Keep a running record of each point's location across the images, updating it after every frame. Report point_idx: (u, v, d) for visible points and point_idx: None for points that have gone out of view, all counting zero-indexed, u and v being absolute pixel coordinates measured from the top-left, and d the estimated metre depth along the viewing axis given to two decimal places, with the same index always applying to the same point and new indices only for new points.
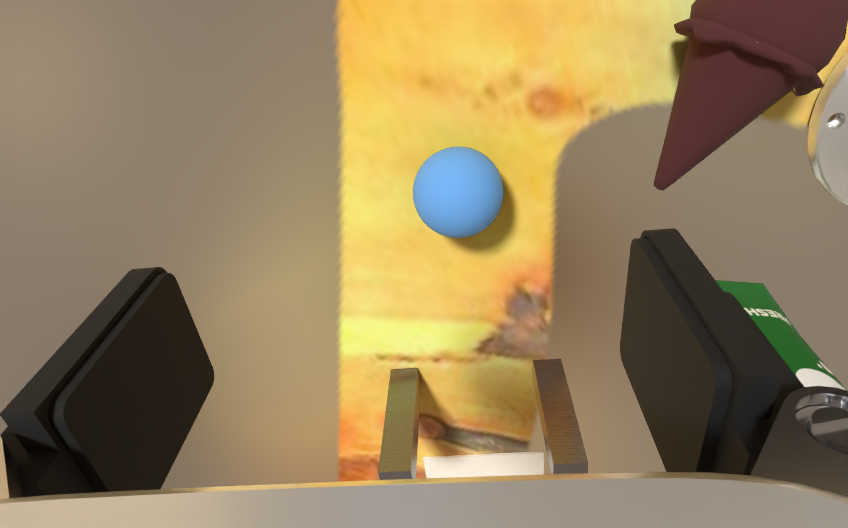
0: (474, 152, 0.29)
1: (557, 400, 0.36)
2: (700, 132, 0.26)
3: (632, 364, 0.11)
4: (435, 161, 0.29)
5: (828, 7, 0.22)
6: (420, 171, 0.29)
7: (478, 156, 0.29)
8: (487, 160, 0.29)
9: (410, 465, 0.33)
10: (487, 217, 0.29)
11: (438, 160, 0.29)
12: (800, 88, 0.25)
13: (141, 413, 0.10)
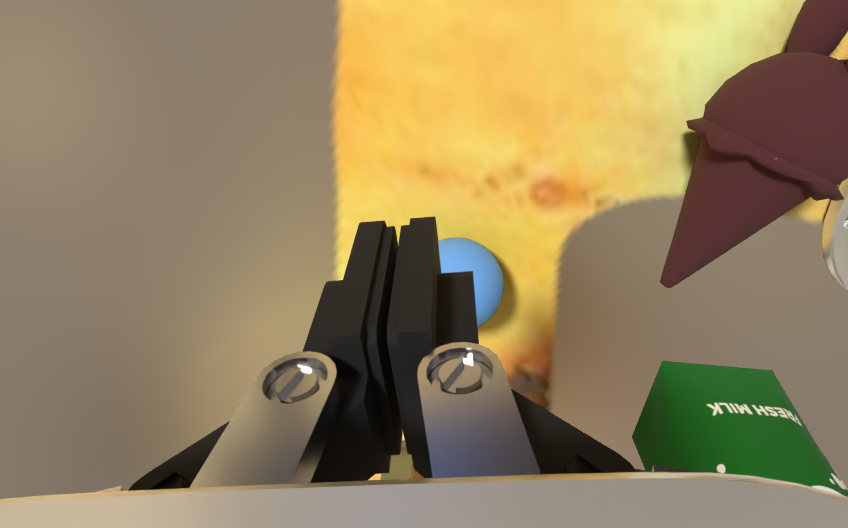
0: (474, 246, 0.28)
1: None
2: (711, 236, 0.24)
3: None
4: None
5: None
6: None
7: (478, 251, 0.28)
8: (487, 255, 0.28)
9: None
10: (485, 315, 0.28)
11: None
12: (818, 195, 0.24)
13: None
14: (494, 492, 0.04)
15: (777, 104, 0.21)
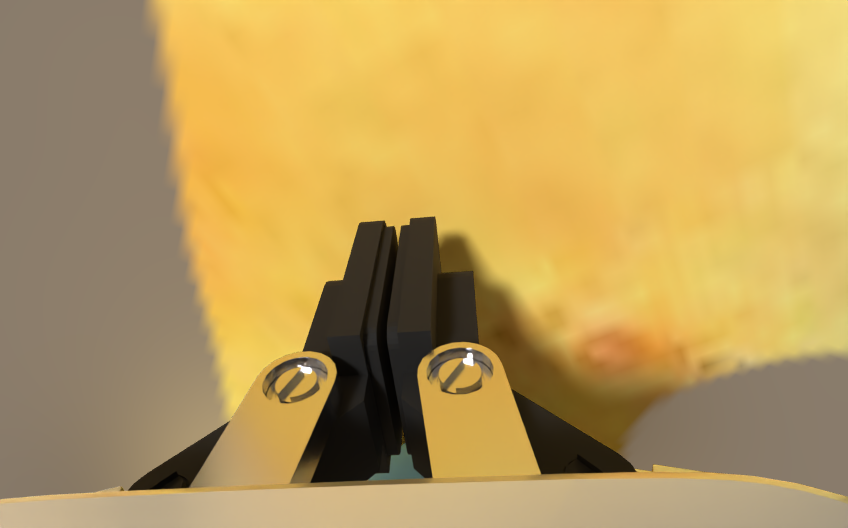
0: None
1: None
2: None
3: None
4: None
5: None
6: None
7: None
8: None
9: None
10: None
11: None
12: None
13: None
14: (494, 492, 0.04)
15: None
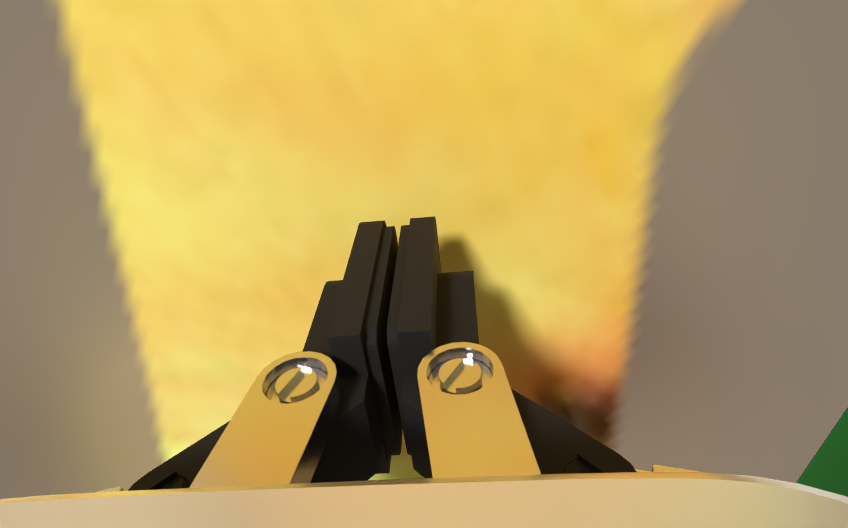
0: None
1: None
2: None
3: None
4: None
5: None
6: None
7: None
8: None
9: None
10: None
11: None
12: None
13: None
14: (494, 492, 0.04)
15: None
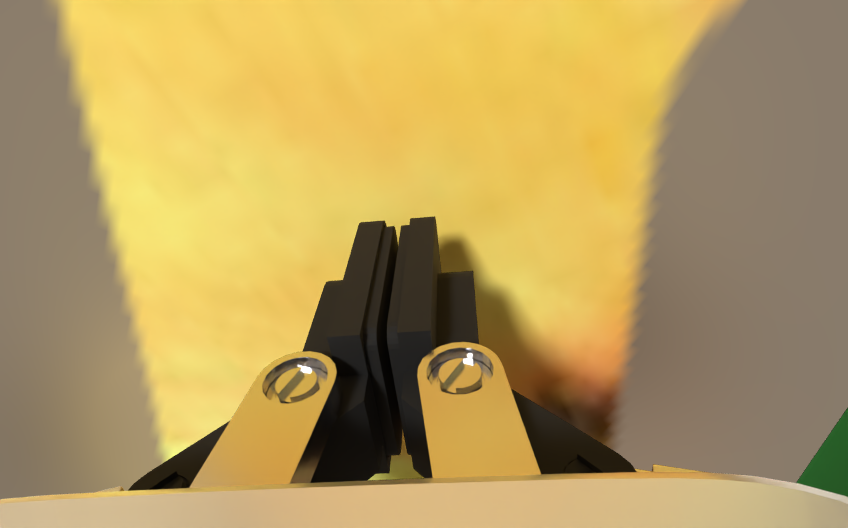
0: None
1: None
2: None
3: None
4: None
5: None
6: None
7: None
8: None
9: None
10: None
11: None
12: None
13: None
14: (494, 492, 0.04)
15: None
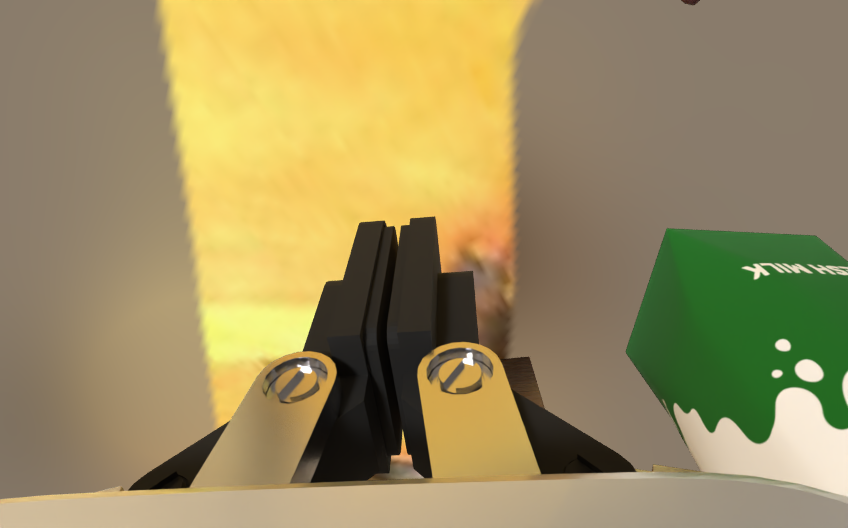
0: None
1: None
2: None
3: None
4: None
5: None
6: None
7: None
8: None
9: None
10: None
11: None
12: None
13: None
14: (494, 492, 0.04)
15: None
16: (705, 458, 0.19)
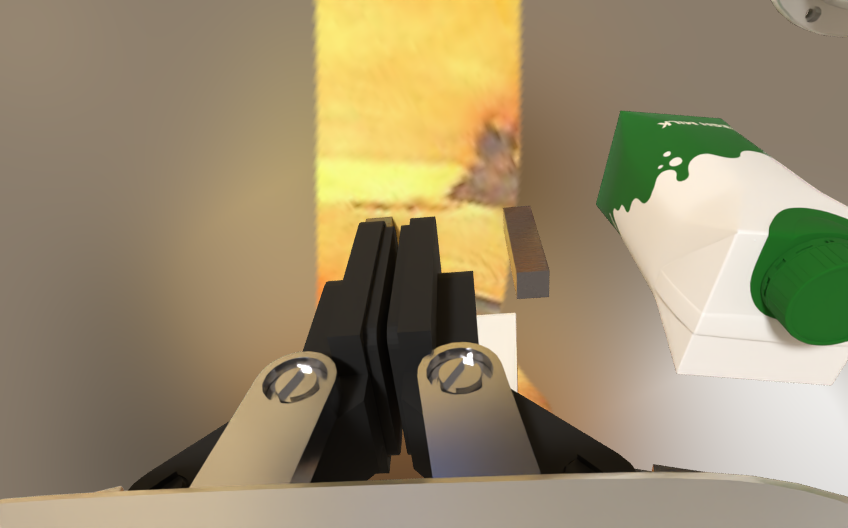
0: None
1: (524, 232, 0.38)
2: None
3: None
4: None
5: None
6: None
7: None
8: None
9: None
10: None
11: None
12: None
13: None
14: (494, 492, 0.04)
15: None
16: (625, 229, 0.32)
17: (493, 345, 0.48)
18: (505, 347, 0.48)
